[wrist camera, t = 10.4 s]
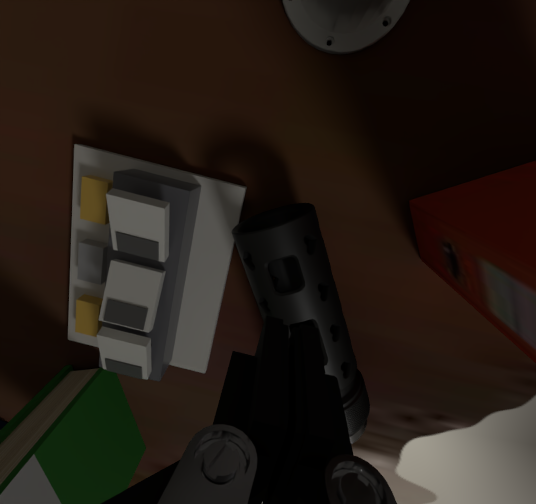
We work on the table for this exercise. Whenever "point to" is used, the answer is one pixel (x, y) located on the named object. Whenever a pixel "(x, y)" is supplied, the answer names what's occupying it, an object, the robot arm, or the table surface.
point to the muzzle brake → (303, 293)
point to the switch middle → (131, 295)
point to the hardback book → (70, 442)
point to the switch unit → (176, 265)
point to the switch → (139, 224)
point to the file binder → (486, 247)
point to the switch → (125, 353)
